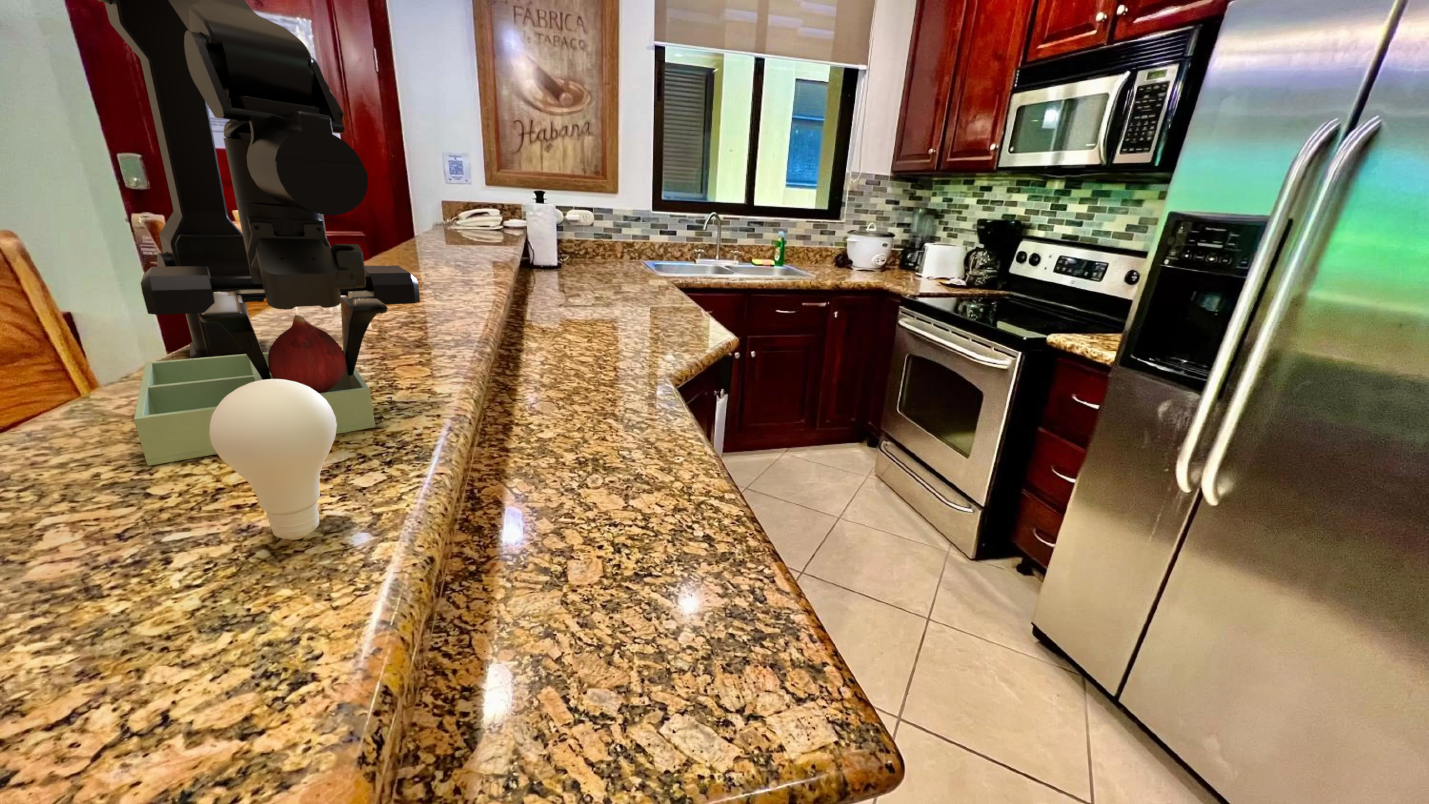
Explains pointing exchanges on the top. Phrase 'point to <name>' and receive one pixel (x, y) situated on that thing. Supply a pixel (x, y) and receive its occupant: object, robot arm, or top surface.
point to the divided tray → (217, 403)
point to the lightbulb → (277, 448)
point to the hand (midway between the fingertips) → (310, 379)
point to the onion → (307, 357)
